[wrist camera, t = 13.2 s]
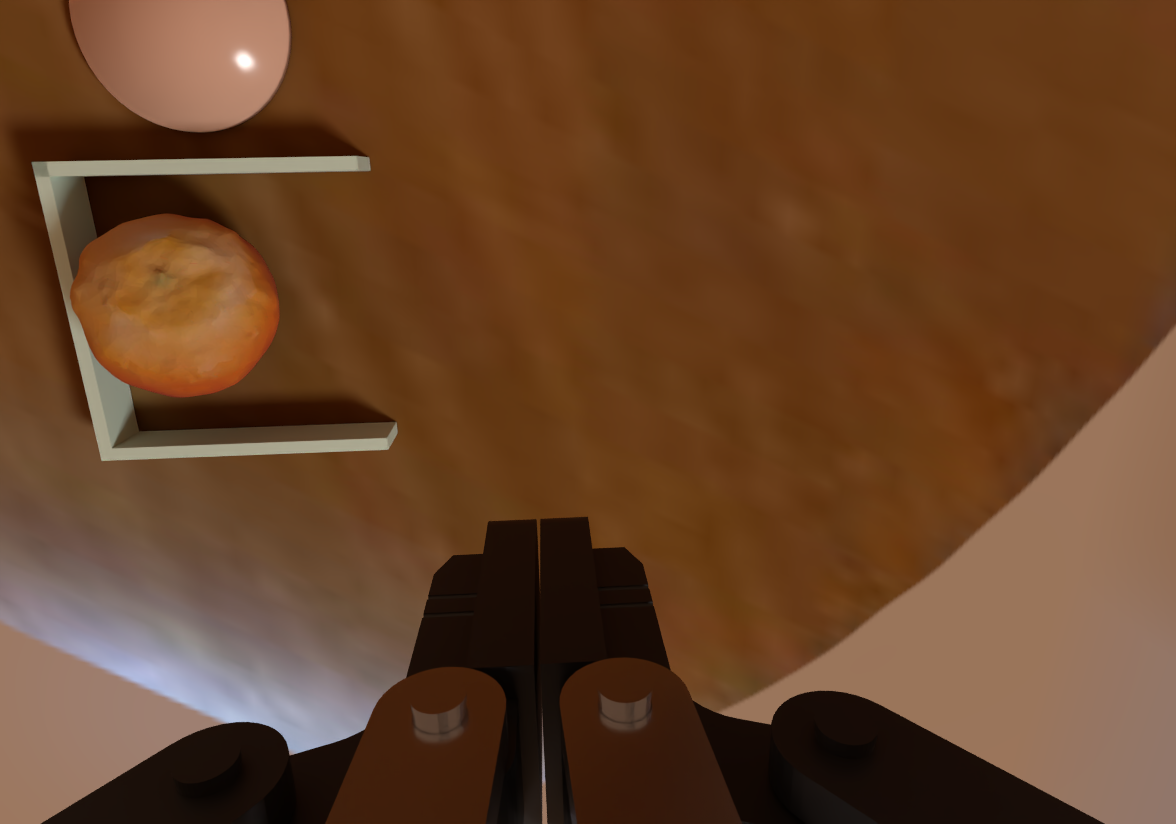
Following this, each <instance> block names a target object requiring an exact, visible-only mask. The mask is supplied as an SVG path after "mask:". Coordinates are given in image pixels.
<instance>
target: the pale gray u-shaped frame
mask: <svg viewBox="0 0 1176 824" xmlns="http://www.w3.org/2000/svg"><path fill="white" fill-rule="evenodd" d="M32 166H33V170H34V175H35V179H36V183H37V187H38V192H39V196H40V200H41V204H42V209H43V213H44V217H45V221H46V226H47V230H48V234H49V238H50V243H51V247H52V251H53V255H54V260H55V264H56V268H57V272H58V277H59V281H60V285H61V289H62V294H63V298H64V302H65V306H66V311H67V315H68V319H69V324H70V328H71V332H72V336H73V341H74V345H75V349H76V353H77V358H78V362H79V366H80V370H81V375H82V379H83V383H84V387H85V392H86V396H87V400H88V404H89V409H90V413H91V417H92V421H93V426H94V430H95V434H96V438H97V443H98V447H99V451H100V455H101V460H102V461H107V460H133V459H159V458H184V457H210V456H235V455H261V454H287V453H312V452H338V451H364V450H388V449H389V447H390V446H391V444H392V442H393V440H394V438H395V437H396V435H397V433H398V431H397V422H379V423H352V424H326V425H299V426H272V427H245V428H218V429H191V430H164V431H139V429H138V424H137V420H136V415H135V411H134V406H133V401H132V397H131V392H130V387H129V384H126V383H124V382H122V381H120V380H119V379H117V378H116V377H114V376H113V375H112V374H111V373H110V372H108V371H107V370H106V369H105V368H104V367H103V366H102V365H101V364H100V363H99V362H98V361H97V360H96V358H95V357H94V355H93V353H92V351H91V349H90V347H89V345H88V342H87V340H86V337H85V334H84V331H83V328H82V325H81V323H80V321H79V319H78V317H77V315H76V314H75V312H74V311H73V309H72V305H71V300H70V290H71V286H72V283H73V281H74V280H75V278H76V276H77V273H78V269H79V258H80V255H81V253H82V251H83V250H84V248H85V247H86V246H87V245H88V244H89V243H90V242H91V241H93V240H95V239H97V235H96V230H95V225H94V221H93V216H92V211H91V207H90V202H89V198H88V193H87V188H86V184H85V179H84V177H88V176H139V175H190V174H241V173H292V172H344V171H371V170H370V160H369V157H361V156H327V157H273V158H219V159H165V160H111V161H57V162H32Z"/></svg>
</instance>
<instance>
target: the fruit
mask: <svg viewBox="0 0 1176 824" xmlns="http://www.w3.org/2000/svg"><path fill="white" fill-rule="evenodd" d="M70 300H71V305H72V309H73V311H74V312H75V314H76V315H77V317H78V319H79V321H80V323H81V325H82V328H83V331H84V334H85V337H86V340H87V342H88V345H89V347H90V349H91V351H92V353H93V355H94V357H95V358H96V360H97V361H98V362H99V363H100V364H101V365H102V366H103V367H104V368H105V369H106V370H107V371H108V372H110V373H111V374H112V375H113V376H114V377H116V378H117V379H119V380H120V381H122V382H124V383H126V384H129V385H132V386H135V387H138V388H141V389H144V390H148V391H151V392H155V393H158V394H162V395H166V396H170V397H192V396H198V395H205V394H212V393H215V392H218V391H221V390H223V389H226V388H228V387H230V386H232V385H234V384H236V383H238V382H239V381H240V380H241V379H242V378H244V377H245V376H246V375H247V374H248V373H249V372H250V371H251V370H252V369H253V367H254V366H255V365H256V364H257V362H258V361H259V360H260V359H261V357H262V356H263V355H264V353H265V352H266V350H267V349H268V347H269V346H270V344H271V342H272V341H273V339H274V336H275V334H276V331H277V326H278V323H279V299H278V294H277V289H276V285H275V281H274V279H273V276H272V274H271V273H270V271H269V269H268V267H267V265H266V263H265V261H264V259H263V258H262V256H261V255H260V254H259V252H258V251H257V250H256V249H255V248H254V247H253V246H252V245H251V244H250V243H248V242H247V241H246V240H244V239H243V238H241V237H240V236H239V235H238V234H237V233H236V232H235V231H233V230H231V229H228V228H226V227H224V226H222V225H220V224H218V223H216V222H214V221H212V220H209V219H201V218H190V217H186V216H181V215H176V214H168V213H165V214H158V215H152V216H148V217H144V218H140V219H136V220H132V221H128V222H124V223H122V224H120V225H118V226H116V227H115V228H113V229H111V230H110V231H108V232H107V233H105V234H104V235H102V236H100V237H99V238H97V239H95V240H93V241H91V242H90V243H89V244H88V245H87V246H86V247H85V248H84V250H83V251H82V253H81V255H80V258H79V269H78V273H77V276H76V278H75V280H74V281H73V283H72V286H71V290H70Z"/></svg>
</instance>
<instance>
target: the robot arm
mask: <svg viewBox="0 0 1176 824" xmlns="http://www.w3.org/2000/svg"><path fill="white" fill-rule="evenodd" d="M542 715H543V736H544V758H545V780H546V802H547V823H548V824H1104V823H1102V822H1100V821H1098V820H1097V819H1095V818H1093V817H1091V816H1089V815H1087V814H1085V813H1083V812H1081V811H1080V810H1078V809H1076V808H1074V807H1072V806H1070V805H1068V804H1066V803H1064V802H1062V801H1061V800H1059V799H1057V798H1055V797H1053V796H1051V795H1049V794H1047V793H1045V792H1043V791H1042V790H1040V789H1038V788H1036V787H1034V786H1032V785H1030V784H1028V783H1027V782H1025V781H1023V780H1021V779H1019V778H1017V777H1015V776H1013V775H1011V774H1009V773H1008V772H1006V771H1004V770H1002V769H1000V768H998V767H996V766H994V765H993V764H990V763H989V762H987V761H985V760H983V759H981V758H979V757H977V756H976V755H974V754H972V753H970V752H968V751H966V750H964V749H962V748H960V747H959V746H957V745H955V744H953V743H951V742H949V741H947V740H945V739H943V738H941V737H940V736H937V735H936V734H934V733H932V732H930V731H928V730H926V729H924V728H922V727H921V726H919V725H917V724H915V723H913V722H911V721H909V720H907V719H906V718H904V717H902V716H900V715H898V714H896V713H894V712H892V711H890V710H888V709H887V708H885V707H883V706H881V705H879V704H877V703H874V702H872V701H870V700H868V699H865V698H862V697H859V696H856V695H852V694H848V693H843V692H836V691H814V692H807V693H803V694H800V695H797V696H795V697H792V698H790V699H789V700H787V701H786V702H784V703H783V704H782V705H781V706H780V707H779V708H778V709H777V711H776V712H775V714H774V716H773V720H772V723H771V725H770V724H764V723H759V722H753V721H748V720H742V719H737V718H733V717H728V716H724V715H722V714H719V713H716V712H713V711H711V710H709V709H707V708H705V707H702V706H701V705H699V704H698V703H696V702H694V701H693V700H692V698H691V696H690V693H689V691H688V689H687V687H686V685H685V684H684V682H683V681H682V680H681V679H680V678H679V677H678V676H677V675H676V674H675V673H673V672H672V671H671V670H670V666H669V662H668V658H667V655H666V651H665V647H664V643H663V639H662V635H661V632H660V628H659V624H658V620H657V616H656V613H655V609H654V606H653V601H652V597H651V594H650V590H649V589H648V582H647V578H646V575H645V571H644V567H643V564H642V563H641V562H640V561H639V560H638V559H637V558H636V557H634V556H633V555H632V554H631V553H630V552H629V551H628V550H627V549H626V548H624V547H619V548H598V549H592V543H591V536H590V529H589V522H588V517H574V518H551V519H540V582H539V560H538V537H537V521H536V519H532V520H509V521H489V522H488V526H487V533H486V539H485V546H484V552H483V554H472V555H453V556H452V557H451V558H450V559H449V560H448V561H447V562H446V563H445V564H444V565H443V566H442V567H441V568H440V569H439V570H438V571H437V572H436V573H435V574H434V576H433V580H432V584H431V588H430V591H429V595H428V600H427V602H426V606H425V610H424V618H422V621H421V625H420V628H419V632H418V636H417V640H416V643H415V647H414V651H413V654H412V658H411V662H410V666H409V669H408V673H407V677H406V678H405V679H403V680H402V681H400V682H398V683H397V684H395V685H394V686H392V687H391V688H390V689H389V690H388V691H387V692H386V693H384V694H383V696H382V697H381V698H380V699H379V701H378V702H377V704H376V706H375V708H374V709H373V712H372V714H371V717H370V719H369V721H368V724H367V726H366V728H365V730H363V731H361V732H359V733H357V734H355V735H353V736H351V737H348V738H346V739H343V740H340V741H337V742H335V743H331V744H328V745H324V746H321V747H318V748H314V749H311V750H307V751H304V752H300V753H297V754H294V755H290V756H289V750H288V746H287V742H286V741H285V739H284V737H283V736H282V735H281V734H280V733H279V732H278V731H277V730H275V729H273V728H271V727H269V726H266V725H263V724H259V723H251V722H235V723H227V724H221V725H218V726H213V727H209V728H206V729H203V730H200V731H197V732H195V733H193V734H191V735H188V736H186V737H184V738H182V739H180V740H178V741H177V742H175V743H173V744H171V745H169V746H168V747H166V748H165V749H163V750H161V751H160V752H158V753H156V754H155V755H153V756H151V757H150V758H148V759H147V760H145V761H143V762H141V763H140V764H138V765H137V766H135V767H133V768H132V769H130V770H129V771H127V772H125V773H123V774H122V775H120V776H118V777H117V778H115V779H114V780H112V781H110V782H109V783H107V784H105V785H104V786H102V787H100V788H99V789H97V790H95V791H94V792H92V793H90V794H89V795H87V796H86V797H84V798H82V799H81V800H79V801H77V802H76V803H74V804H72V805H71V806H69V807H68V808H66V809H64V810H63V811H61V812H59V813H58V814H56V815H54V816H53V817H51V818H49V819H48V820H46V821H44V822H43V823H41V824H542Z"/></svg>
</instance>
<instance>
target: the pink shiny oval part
mask: <svg viewBox="0 0 1176 824" xmlns="http://www.w3.org/2000/svg"><path fill="white" fill-rule="evenodd" d="M69 9H70V15H71V22H72V25H73V29H74V33H75V37H76V39H77V42H78V44H79V47H80V49H81V52H82V53H83V55H84V57H85V59H86V61H87V63H88V65H89V66H90V68H91V69H92V71H93V72H94V74H95V75H96V77H97V78H98V79H99V81H100V82H101V83H102V84H103V85H104V87H105V88H106V89H107V90H108V91H109V92H110V93H111V94H112V95H113V96H114V97H115V98H116V99H117V100H118V101H119V102H121V103H122V104H123V105H125V106H126V107H127V108H129V109H130V110H131V111H133V112H134V113H136V114H138V115H139V116H141V117H143V118H145V119H147V120H149V121H151V122H153V123H156V124H158V125H161V126H164V127H167V128H171V129H176V130H181V131H187V132H201V133H206V132H217V131H222V130H226V129H230V128H233V127H235V126H238V125H240V124H242V123H244V122H246V121H248V120H249V119H251V118H253V117H254V116H255V115H256V114H258V113H259V112H260V111H261V110H263V109H264V107H265V106H266V105H267V104H268V103H269V102H270V101H271V100H272V98H273V97H274V95H275V94H276V92H277V91H278V89H279V87H280V85H281V83H282V81H283V79H284V77H285V74H286V71H287V67H288V64H289V59H290V53H291V40H292V34H291V21H290V15H289V10H288V6H287V2H286V0H69Z"/></svg>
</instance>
